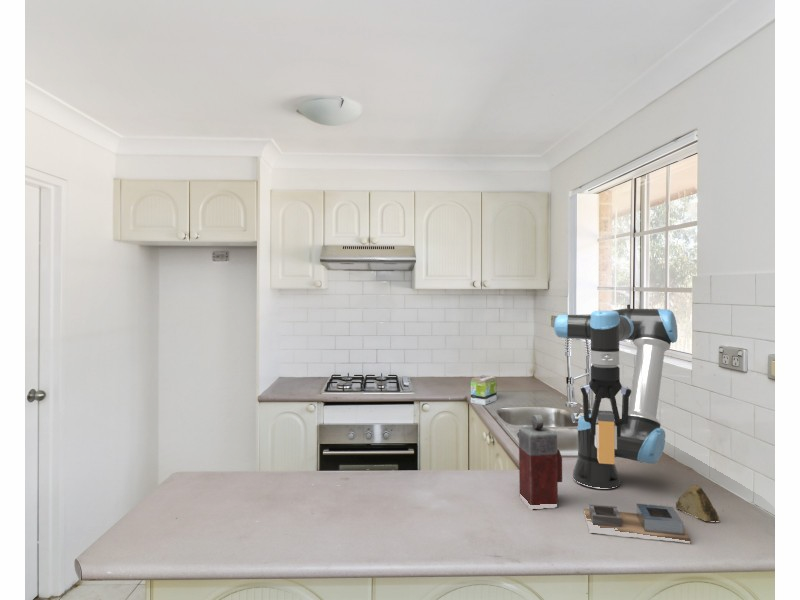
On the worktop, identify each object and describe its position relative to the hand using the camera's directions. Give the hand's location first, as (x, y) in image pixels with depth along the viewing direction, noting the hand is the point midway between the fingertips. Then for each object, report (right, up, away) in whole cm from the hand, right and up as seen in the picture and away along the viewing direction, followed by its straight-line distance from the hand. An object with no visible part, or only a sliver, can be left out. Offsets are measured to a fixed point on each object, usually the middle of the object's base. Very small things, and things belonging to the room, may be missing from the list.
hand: (605, 446), depth 136 cm
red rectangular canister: (-14, -23, +16) cm, 31 cm away
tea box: (-9, -19, +148) cm, 150 cm away
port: (+14, -21, -3) cm, 25 cm away
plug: (0, -4, 0) cm, 4 cm away
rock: (+29, -22, +6) cm, 37 cm away
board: (+7, -23, -1) cm, 24 cm away
